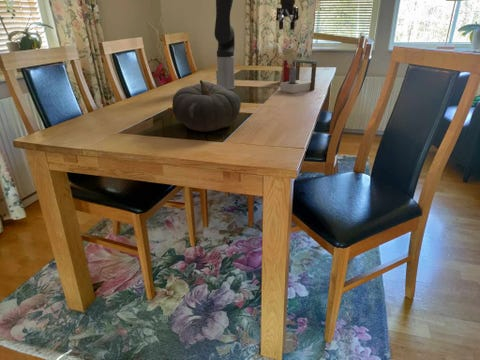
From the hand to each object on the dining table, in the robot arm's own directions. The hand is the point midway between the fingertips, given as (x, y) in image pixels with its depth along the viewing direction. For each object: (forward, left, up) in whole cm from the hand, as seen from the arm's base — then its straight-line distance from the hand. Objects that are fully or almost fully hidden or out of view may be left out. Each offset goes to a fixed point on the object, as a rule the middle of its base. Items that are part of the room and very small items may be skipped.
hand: (286, 29), depth 177 cm
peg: (-2, -9, -30) cm, 32 cm away
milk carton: (+12, +10, -30) cm, 34 cm away
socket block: (0, -9, -30) cm, 31 cm away
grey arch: (+5, -9, -30) cm, 32 cm away
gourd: (-71, -36, -30) cm, 85 cm away
